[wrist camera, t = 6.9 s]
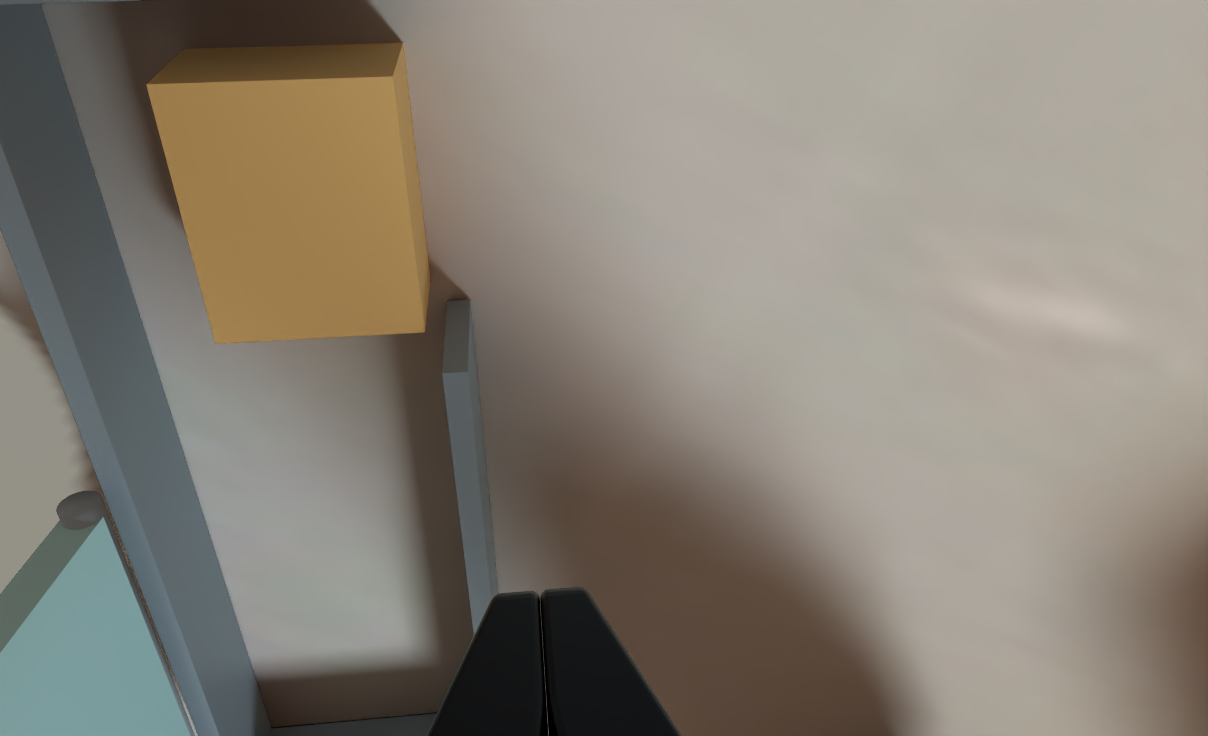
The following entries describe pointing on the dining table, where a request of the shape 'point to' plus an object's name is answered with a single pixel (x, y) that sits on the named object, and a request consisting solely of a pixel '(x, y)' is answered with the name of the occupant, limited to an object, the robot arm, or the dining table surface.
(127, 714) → the cover
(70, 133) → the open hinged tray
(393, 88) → the tan cardboard box
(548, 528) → the dining table surface
